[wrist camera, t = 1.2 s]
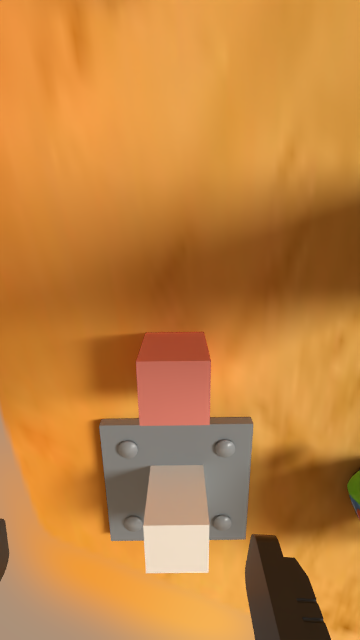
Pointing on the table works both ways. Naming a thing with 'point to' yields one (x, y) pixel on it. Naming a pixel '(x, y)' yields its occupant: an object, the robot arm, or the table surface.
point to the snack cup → (355, 492)
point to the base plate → (177, 449)
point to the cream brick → (176, 520)
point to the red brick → (173, 379)
